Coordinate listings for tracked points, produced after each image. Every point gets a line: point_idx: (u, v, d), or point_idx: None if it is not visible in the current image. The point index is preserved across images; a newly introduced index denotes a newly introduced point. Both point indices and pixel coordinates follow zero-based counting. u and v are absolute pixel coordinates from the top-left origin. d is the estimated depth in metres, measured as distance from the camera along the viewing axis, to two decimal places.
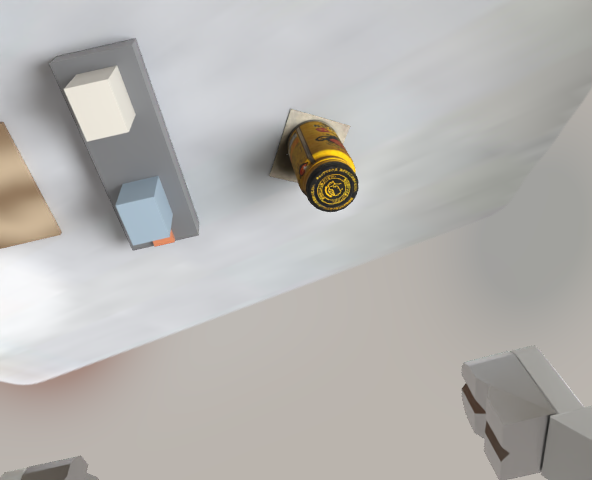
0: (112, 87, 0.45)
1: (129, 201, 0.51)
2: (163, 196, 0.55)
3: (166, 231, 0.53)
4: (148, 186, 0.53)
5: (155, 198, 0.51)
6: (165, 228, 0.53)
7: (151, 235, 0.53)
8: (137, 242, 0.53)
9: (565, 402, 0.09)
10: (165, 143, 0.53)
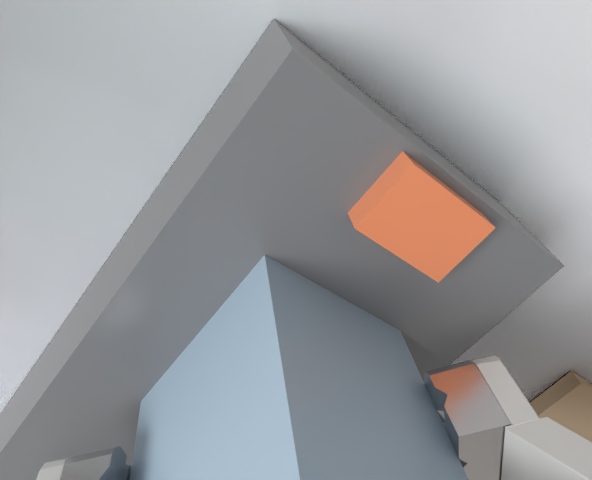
0: None
1: None
2: (182, 391, 0.10)
3: None
4: None
5: None
6: None
7: None
8: None
9: (521, 413, 0.09)
10: (2, 455, 0.12)
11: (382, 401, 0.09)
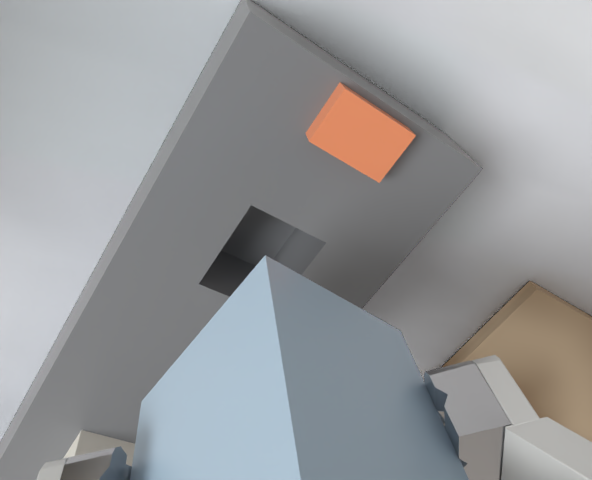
0: None
1: None
2: (183, 391, 0.10)
3: None
4: None
5: None
6: None
7: None
8: None
9: (521, 413, 0.09)
10: (66, 346, 0.16)
11: (383, 402, 0.09)
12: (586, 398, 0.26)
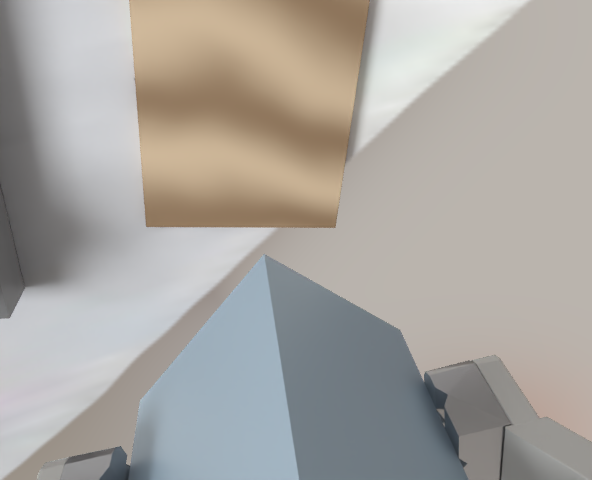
0: None
1: None
2: (181, 391, 0.10)
3: None
4: None
5: None
6: None
7: None
8: None
9: (521, 413, 0.09)
10: None
11: (382, 401, 0.09)
12: (292, 62, 0.27)
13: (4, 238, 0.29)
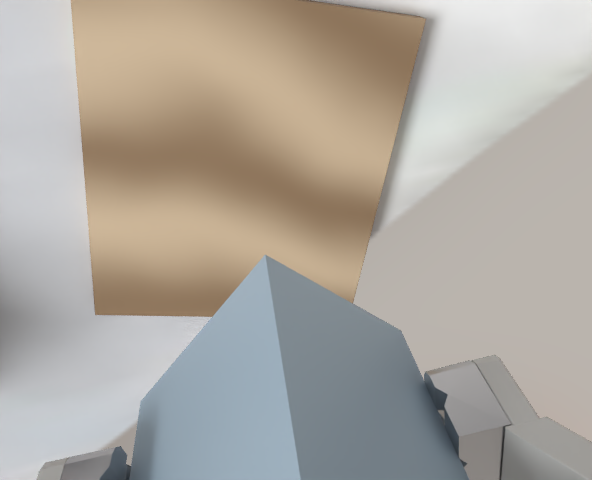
0: None
1: None
2: (182, 391, 0.10)
3: None
4: None
5: None
6: None
7: None
8: None
9: (521, 413, 0.09)
10: None
11: (383, 402, 0.09)
12: (307, 110, 0.19)
13: None
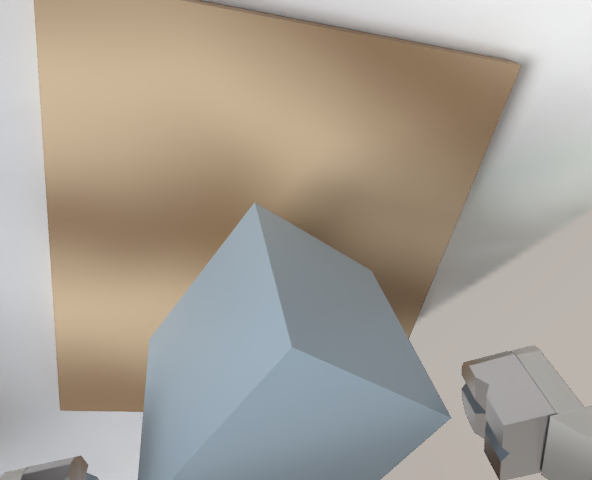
0: None
1: None
2: (188, 319, 0.12)
3: (269, 379, 0.08)
4: None
5: None
6: (255, 392, 0.08)
7: (343, 408, 0.09)
8: (420, 419, 0.10)
9: (565, 402, 0.09)
10: None
11: (355, 312, 0.11)
12: (352, 175, 0.14)
13: None
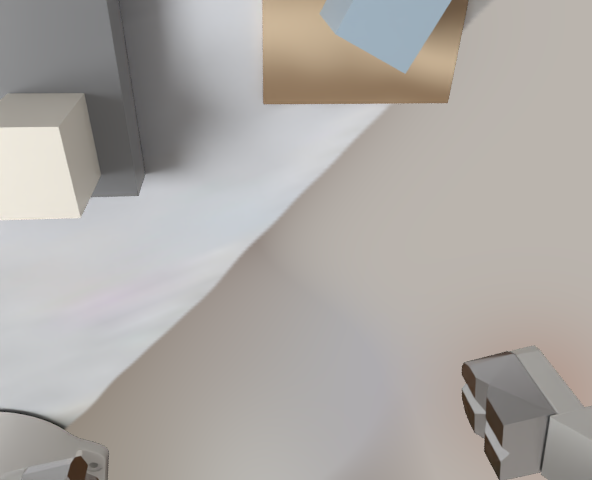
0: None
1: (380, 59, 0.24)
2: None
3: None
4: None
5: (338, 24, 0.23)
6: None
7: None
8: None
9: (565, 402, 0.09)
10: None
11: None
12: None
13: (132, 116, 0.31)
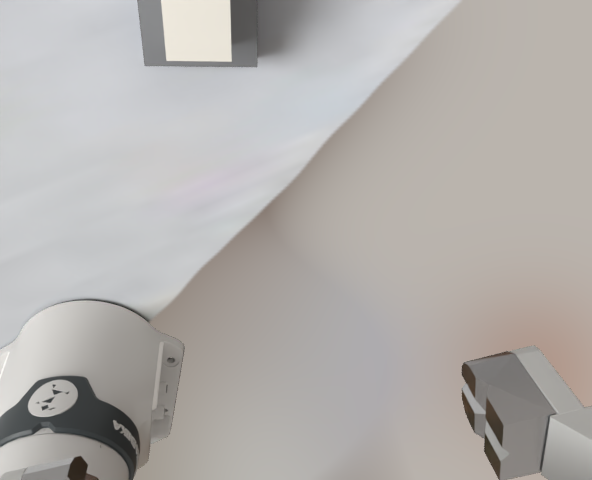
0: None
1: None
2: None
3: None
4: None
5: None
6: None
7: None
8: None
9: (565, 402, 0.09)
10: None
11: None
12: None
13: None
